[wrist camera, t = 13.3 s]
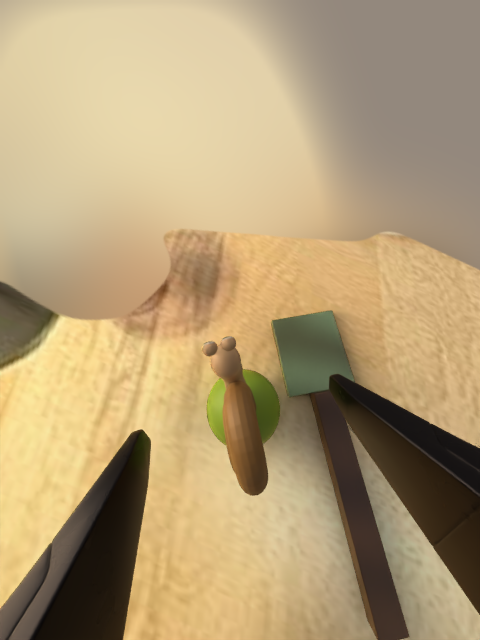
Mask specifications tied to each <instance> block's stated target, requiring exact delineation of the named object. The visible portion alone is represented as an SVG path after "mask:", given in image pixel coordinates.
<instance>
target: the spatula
mask: <svg viewBox="0 0 480 640" xmlns="http://www.w3.org/2000/svg"><path fill="white" fill-rule="evenodd" d="M271 325H272V329H273V334H274V338H275V342H276V347H277V351H278V356H279V360H280V365H281V369H282V373H283V378H284V382H285V387H286V391H287V396H288V397H293V396H299V395H304V394H309V393H310V397H311V401H312V405H313V408H314V412H315V416H316V420H317V424H318V428H319V432H320V436H321V440H322V444H323V447H324V451H325V455H326V459H327V463H328V467H329V471H330V475H331V479H332V483H333V486H334V490H335V494H336V498H337V502H338V506H339V510H340V514H341V518H342V522H343V526H344V529H345V533H346V537H347V541H348V545H349V549H350V553H351V557H352V561H353V565H354V568H355V572H356V576H357V580H358V584H359V588H360V592H361V596H362V600H363V604H364V608H365V611H366V615H367V619H368V622H369V624H370V626H371V628H372V630H373V632H374V634H375V636H376V638H377V640H400V639H404V638H408V637H409V634H408V630H407V627H406V623H405V620H404V617H403V613H402V610H401V606H400V603H399V600H398V596H397V593H396V589H395V586H394V583H393V579H392V576H391V572H390V569H389V566H388V562H387V559H386V555H385V552H384V549H383V545H382V542H381V538H380V535H379V532H378V528H377V525H376V521H375V518H374V515H373V511H372V508H371V504H370V501H369V498H368V494H367V491H366V487H365V484H364V481H363V477H362V474H361V470H360V467H359V464H358V460H357V457H356V453H355V450H354V447H353V443H352V440H351V436H350V433H349V430H348V426H347V423H346V419H345V418H344V416H343V414H342V412H341V410H340V409H339V407H338V405H337V403H336V401H335V400H334V398H333V396H332V394H331V392H330V390H329V377H330V375H334V374H340V375H342V376H344V377H346V378H348V379H350V380H351V381H353V382H355V380H354V377H353V374H352V371H351V368H350V365H349V362H348V359H347V356H346V353H345V349H344V346H343V343H342V340H341V337H340V334H339V331H338V328H337V325H336V321H335V318H334V315H333V312H332V311H325V312H319V313H313V314H307V315H302V316H296V317H290V318H284V319H278V320H273V321H272V322H271Z"/></svg>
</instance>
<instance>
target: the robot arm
mask: <svg viewBox="0 0 480 640" xmlns="http://www.w3.org/2000/svg"><path fill="white" fill-rule="evenodd" d="M329 390H330V392H331V394H332V396H333V398H334V400H335V401H336V403H337V405H338V407H339V409H340V410H341V412H342V414H343V416H344V418H345V419H346V421H347V423H348V424H349V426H350V427H351V429H352V430H353V432H354V433H355V435H356V436H357V437H358V439H359V440H360V442H361V443H362V445H363V446H364V448H365V449H366V450H367V452H368V453H369V455H370V456H371V458H372V459H373V461H374V462H375V464H376V465H377V466H378V468H379V469H380V471H381V472H382V474H383V475H384V477H385V478H386V479H387V481H388V482H389V484H390V485H391V487H392V488H393V490H394V491H395V493H396V494H397V495H398V497H399V498H400V500H401V501H402V503H403V504H404V506H405V507H406V508H407V510H408V511H409V513H410V514H411V516H412V517H413V519H414V520H415V522H416V523H417V524H418V526H419V527H420V529H421V530H422V532H423V533H424V535H425V536H426V537H427V539H428V540H429V542H430V543H431V545H432V546H434V547H433V548H434V549H435V551H436V552H437V554H438V555H439V557H440V558H441V559H442V561H443V562H444V564H445V565H446V567H447V568H448V570H449V571H450V572H451V574H452V575H453V577H454V578H455V580H456V581H457V583H458V584H459V586H460V587H461V588H462V590H463V591H464V593H465V594H466V596H467V597H468V599H469V600H470V601H471V603H472V604H473V606H474V607H475V609H476V610H477V612H478V613H479V615H480V448H478V447H476V446H474V445H472V444H470V443H468V442H466V441H464V440H462V439H460V438H458V437H456V436H454V435H452V434H450V433H448V432H446V431H444V430H442V429H441V428H439V427H437V426H435V425H433V424H430V423H429V422H427V421H426V420H424V419H422V418H420V417H418V416H416V415H415V414H413V413H411V412H409V411H407V410H405V409H403V408H402V407H400V406H398V405H396V404H394V403H392V402H390V401H389V400H387V399H385V398H383V397H381V396H379V395H377V394H376V393H374V392H372V391H370V390H368V389H366V388H364V387H363V386H361V385H359V384H357V383H355V382H353V381H351V380H350V379H348V378H346V377H344V376H342V375H340V374H334V375H330V377H329ZM150 450H151V441H150V438H149V437H148V436H147V434H146V433H145V432H144V431H143V430H138V431H134V432H132V433H131V434H130V436H129V437H128V438H127V440H126V441H125V443H124V444H123V445H122V447H121V448H120V449H119V451H118V452H117V453H116V455H115V456H114V458H113V459H112V460H111V462H110V463H109V464H108V466H107V467H106V468H105V470H104V471H103V472H102V474H101V475H100V477H99V478H98V479H97V481H96V482H95V483H94V485H93V486H92V487H91V489H90V490H89V491H88V493H87V494H86V496H85V497H84V498H83V500H82V501H81V502H80V504H79V505H78V506H77V508H76V509H75V511H74V512H73V513H72V515H71V516H70V517H69V519H68V520H67V521H66V523H65V524H64V525H63V527H62V528H61V530H60V531H59V532H58V534H57V535H56V536H55V538H54V539H53V541H52V543H50V544H49V546H48V547H47V548H46V550H45V551H44V552H43V554H42V555H41V557H40V558H39V559H38V561H37V562H36V563H35V565H34V566H33V567H32V569H31V570H30V571H29V573H28V574H27V575H26V577H25V578H24V579H23V581H22V582H21V583H20V584H19V586H18V587H17V588H16V590H15V591H14V592H13V593H12V595H11V596H10V597H9V598H8V600H7V601H6V602H5V604H4V605H3V606H2V607H1V609H0V640H123V636H124V630H125V624H126V617H127V611H128V605H129V599H130V593H131V586H132V580H133V574H134V568H135V562H136V556H137V549H138V543H139V537H140V531H141V525H142V519H143V512H144V506H145V500H146V494H147V487H148V479H149V465H150Z"/></svg>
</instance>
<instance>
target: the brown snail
mask: <svg viewBox="0 0 480 640" xmlns="http://www.w3.org/2000/svg"><path fill="white" fill-rule="evenodd" d="M235 346H236V340H235V339H234V338H233V337H225V338H223V339H222V340H221V344H220V345H218V346H217V344H216V343H215V342H213V341H211V342H206V343H205V344H203V346H202V352H203V353H204V354H205V355H206V356H211V358H210V363H211V367H212V369H213V371H214V372H215V373H216V374H217V375H218V376H219V377H221V378H220V379H219V380H218V381H217V382H216V383H215V385H214V386H213V388H212V390H211V392H210V394H209V397H208V402H207V417H208V422H209V425H210V427H211V429H212V431H213V433H214V434H215V436H216V437H217V438H218V439H219V440H220V441H221V442H222V443H223V444H225V445H227V449H228V454H229V458H230V462H231V465H232V468H233V470H234V472H235V473H236V476H237V479H238V482H239V484H240V486H241V488H242V489H243V490H244V492H245V493H247V494H249V495H259V494H260V493H262V492H263V491H264V489H265V488H266V485H267V482H268V470H267V463H266V458H265V453H264V448H263V444H264V443H265V442H266V441H267V440H268V439H269V438H270V437H271V436H272V435H273V433H274V431H275V429H276V427H277V425H278V422H279V417H280V403H279V399H278V395H277V393H276V391H275V389H274V387H273V386H272V384H271V383H270V382H269V381H268V380H267V379H266V378H265V377H264V376H262V375H261V374H259V373H257V372H255V371H251V370H245V369H243V368H242V365H241V358H240V355H239V353H238V351H237V350H236V349H235Z"/></svg>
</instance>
